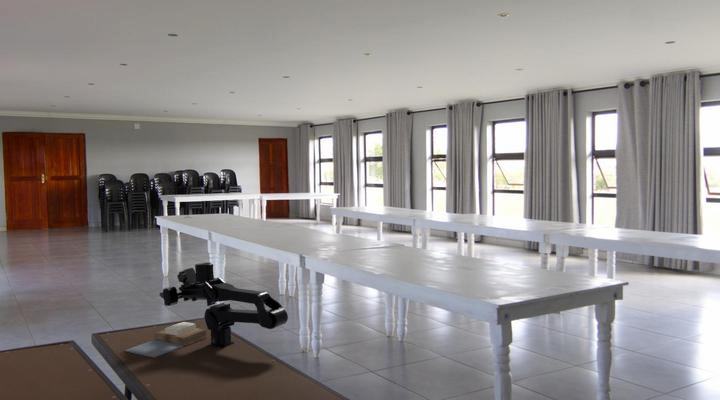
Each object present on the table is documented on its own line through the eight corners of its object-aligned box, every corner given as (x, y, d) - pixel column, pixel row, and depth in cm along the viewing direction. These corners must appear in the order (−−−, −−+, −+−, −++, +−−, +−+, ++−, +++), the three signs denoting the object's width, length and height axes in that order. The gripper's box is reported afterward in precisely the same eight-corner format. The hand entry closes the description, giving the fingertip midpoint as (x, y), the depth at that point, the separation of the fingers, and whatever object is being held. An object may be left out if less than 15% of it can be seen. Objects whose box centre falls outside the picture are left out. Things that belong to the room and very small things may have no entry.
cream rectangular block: (195, 329, 211) (195, 323, 211) (177, 335, 203) (177, 330, 203) (183, 327, 214) (183, 321, 213) (165, 333, 206) (164, 327, 206)
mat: (183, 346, 200) (183, 345, 200) (154, 357, 189) (154, 356, 189) (154, 341, 207) (154, 339, 207) (125, 351, 195) (125, 350, 195)
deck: (206, 337, 210) (205, 329, 210) (183, 346, 200) (183, 338, 200) (178, 332, 216) (177, 325, 216) (155, 340, 207) (155, 332, 207)
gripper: (215, 264, 214) (186, 265, 222) (177, 275, 198) (146, 275, 206) (219, 294, 214) (189, 293, 222) (181, 306, 198) (150, 305, 206)
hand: (169, 291), depth 214 cm, fingers open, 9 cm apart
